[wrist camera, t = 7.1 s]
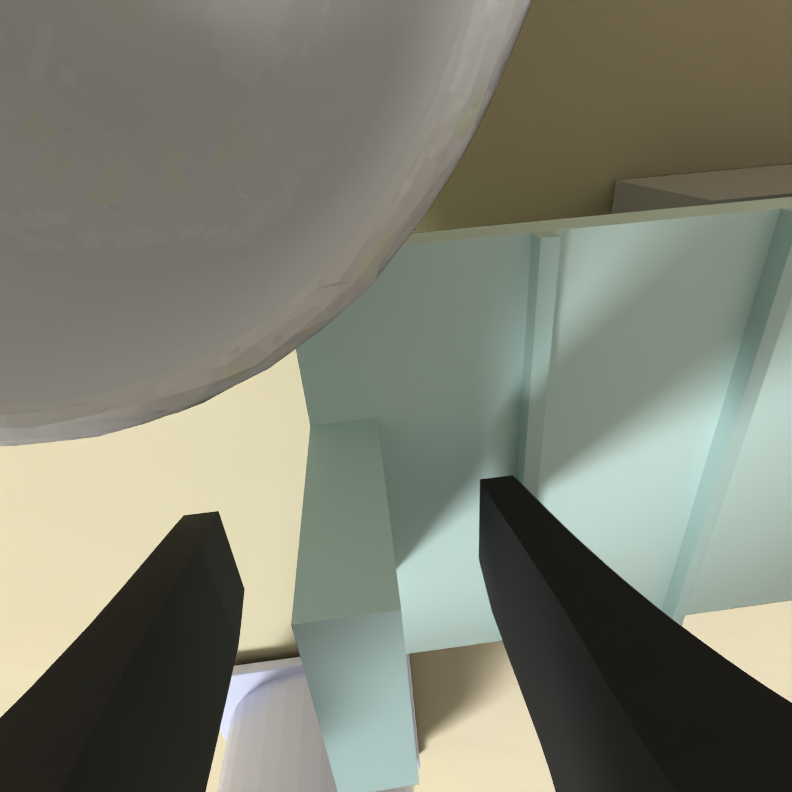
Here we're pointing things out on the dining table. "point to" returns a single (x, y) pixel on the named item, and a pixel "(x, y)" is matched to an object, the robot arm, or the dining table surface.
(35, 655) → the dining table surface
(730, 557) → the lid
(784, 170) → the tub
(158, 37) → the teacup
